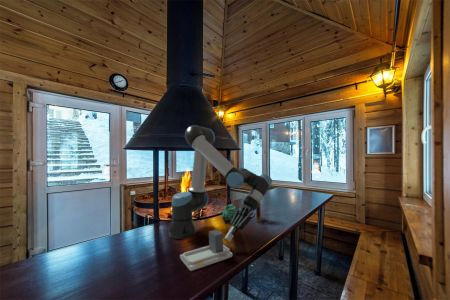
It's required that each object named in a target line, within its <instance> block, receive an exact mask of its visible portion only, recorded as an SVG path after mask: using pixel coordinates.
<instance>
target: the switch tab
mask: <svg viewBox="0 0 450 300" xmlns="http://www.w3.org/2000/svg"><path fill="white" fill-rule="evenodd" d="M223 245H224V233H222V232H221V231H219V230H218V229H214V230H210V231H208V246H209V249H210V250H211V251H212V252H214V253H215V254H216V253H219V252H222V251H223Z"/></svg>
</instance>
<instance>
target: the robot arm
mask: <svg viewBox="0 0 450 300" xmlns="http://www.w3.org/2000/svg"><path fill="white" fill-rule="evenodd" d="M184 138H185V141H186V143H187V144H188V145H189V146H190V147H191V148H192V149H194V156H193V164H192V174H191V175H192V176H191V184H190V186H189V187H188V189H187V191H182V192H179V193H175V194H174V195H173V196H172V199H171V224H170V227H169V230H168V235H169V238H171V239H176V240H180V239H181V240H183V239H188V238H189V239H190V238H191V237H193V236H194V235H196V227H195V223H194V221H193V213H195V212H198V211H200V210H202V209H204V208H205V207H206V206H207V205H208V203H209V195H208V192H207V189H206V188H205V185H206V183H205V182H206V175H207V174H206V173H207V164H208V162H209V163H210V165H212V166H213V167H214V168H215V169H216V170H217V171H218V172H219V173H220V174H221V175H222V176H223V177H224V178H225V179H226V183H227V185H228V186H229V187H230V188H241V187H243V186H246V185H247V186H248V187H251V189H250V190H249V192H248V194H247V196H246V197H244V200H243V204H242V205H241V207H239V206H238V207H235V208H236V212H235V214H234V216H233V218H232V220H231V221H229V222H230V225H231V226H230V228H229V229H228V232H227V234H225V236H224V239H225V240H227V242H229V243H230V242H231V241H232V240H233V237H234V236H236V234H237V232H238V231H239V230H240V231H242V230H243V229H245V227H246V226H247V225H248V224H249V222H250V221H251V220H252V219H254V217H256V214H255V213H254V211H256V208H257V207H258V205H259V203H260V204H261V202H262V200H263V199H264V197H265V195H266V194H267V192H268V191H269V189H270V188H271V186H272V184H273V179H272V177H271V176H269V175H268V174H266V173H261V174H260V175H258V174H256V173H254V172H252V171H250V170H248V169H247V168H244V167H239V168H237V167H235V166H234V165H233V164H232V163H231V162H230V161H229V160H228V159H227V158H226V157H225V156H224V155H223V154H222V153H221V152H219V150H218V149H216V148H215V147H214V146H213V144H214V143H215V141H216V136H215V133H214V131H213V130H212V129H211V128H208V127H204V126H199V125H196V124H194V125H193V124H192V125H190V126H188V128H186V130H185V132H184Z"/></svg>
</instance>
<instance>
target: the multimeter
mask: <svg viewBox="0 0 450 300" xmlns="http://www.w3.org/2000/svg"><path fill="white" fill-rule="evenodd" d="M261 209H262V208H261V202H260V203H259V205H258V207H257V208H256V210H255V211H256V212H255V213H256V214H255V217H256V221H255V222H256V223H259V224H261V220H262V216H261V215H262V214H261V212H262V211H261ZM264 221H265V222H264V225H266V224H268V223H270V221H269V220H266V219H264ZM267 221H268V222H267Z"/></svg>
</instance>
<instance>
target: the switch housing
mask: <svg viewBox="0 0 450 300" xmlns="http://www.w3.org/2000/svg"><path fill="white" fill-rule="evenodd" d="M232 257H233V252H231V249H230V248H229V247H227V246H226V245H225V244H223V251H222V252H219V253H216V254H215V253H214V252H212V251H211V250H210V249H209V245H206V246H202V247H199V248H196V249H195V248H194V249H192V250H189V251H185V252H183V253H182V254H179V259H180V260H181V261H182V262H183V264H184V265H185V266H186V267H187V269H188V270H189V271H190V272H193V271H195V270H198V269H201V268H204V267H208V266H210V265H212V264H215V263H219V262H221V261H224V260H226V259H227V260H228V259H229V258H232Z"/></svg>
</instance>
